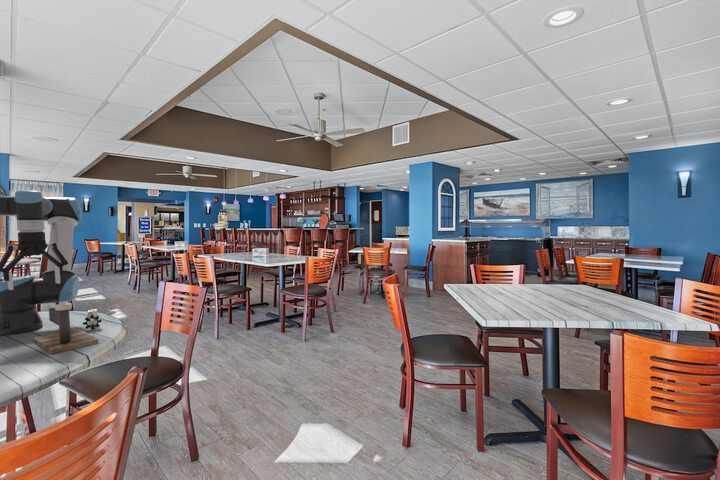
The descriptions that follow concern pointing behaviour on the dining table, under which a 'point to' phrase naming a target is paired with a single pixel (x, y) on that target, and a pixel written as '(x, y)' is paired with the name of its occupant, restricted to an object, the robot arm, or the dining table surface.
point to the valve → (92, 319)
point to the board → (54, 346)
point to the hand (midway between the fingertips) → (35, 286)
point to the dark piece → (62, 320)
